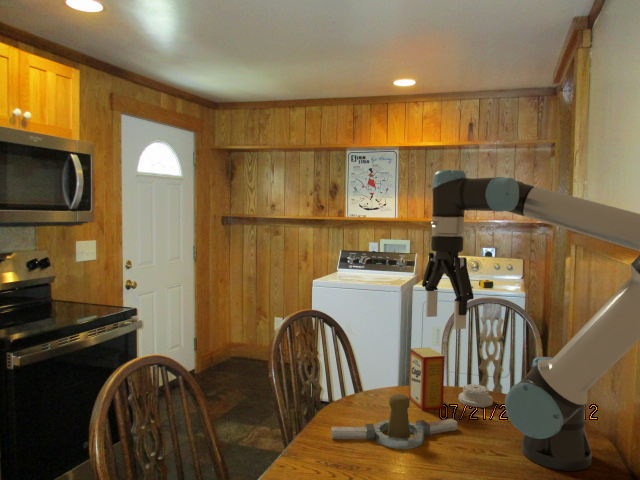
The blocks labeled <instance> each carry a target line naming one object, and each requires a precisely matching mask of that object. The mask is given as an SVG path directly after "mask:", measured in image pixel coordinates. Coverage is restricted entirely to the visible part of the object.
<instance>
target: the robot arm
mask: <svg viewBox="0 0 640 480" xmlns="http://www.w3.org/2000/svg"><path fill="white" fill-rule="evenodd" d="M431 191H432V213H431V214H432V215H431V222H430V224H431V233H432V234H434V235H432V236H431V237H430V238H431V239H430V240H431V243H430V244H431V245H430V246H431V247H430V249H431V251H432V252H429V253H428V260H427V265H426V268H425V271H424V274H423V278H422V281H421V282H422V283H421V286H422V288H425V291H426V301H425V302H426V303H425V304H426V305H425V307H426V309H425V316H426V317H427V318H431V317H432V318H433V317H438V297H439V296H438V295H439V294H438V291H439V289H438V286H439V284H440V282H441V280H442V278H443V276H444V275H446V277H448V278H449V281H450V285H451V287H452V289H453V292H454V295H455V299H454V305H453V306H454V309H453V310H454V311H453V312H454V313H453V329H455V330H465V329H466V328H467V314H468V302H469V300H471V301H472V300H474V299H475V298H474V297H475V296H474V293H473V286H472V283H471V279H470V275H469V270H468V262H467V261H468V260H467V257H463V256H462V257H459V253H461V252H464V237H463V234H464V233H465V211H479V212H480V211H482V212H497V213H498V212H508V213H511V214H515V215H518V216H522V217H527V218H528V219H532V220H536V221H539V222H542V223H545V224H549V225H552V226H555V227H559V228H562V229H565V230H568V231H571V232H574V233H579V234H582V235H585V236H588V237H591V238H594V239H598V240H601V241H604V242H607V243H611V244H614V245H618V246H619V247H623V248H628V249H630V250H634V251H638V252H639V253H640V213H638V212H634V211H631V210H627V209H622V208H619V207H615V206H612V205H607V204H605V203H604V204H603V203H600V202H596V201H592V200H589V199H584V198H582V197H577V196H573V195H569V194H565V193H561V192H558V191H554V190H550V189H547V188H542V187H539V186H534V185H530V184H527V183H524V182H523V181H519V180H516V179H515V178H513V177H504V176H496V177H479V178H470V177H469V178H468V177H467V176H466V172H465V171H464V170H461V169H460V170H459V169H443V170H437V171H435V173H434V175H433V182H432V189H431ZM629 265H630V267H629V268H630V273H631V274H630V277H629V278H628V279H627V280H626V281H625V282H624V283H623V284H622V285H621V286H620V287H619V289H617V291H615V292H614V294H613V295H612V296H611V297H610V298H609V299H608V300H607V301H606V302H605V303H604V304H603V305H602V306H601V307H600V308H599V310H597V311H596V313H595V314H594V315H593V316H592V317H591V318H590V319H589V320H588V321H587V322H586V323H585V324H584V325H583V326H582V328H580V329H579V331H578V332H577V333H576V334H575V335H574V336H573V337H572V338H571V339H570V340H569V341H568V342H567V343H566V344H565V345H564V346H563V347H562V348H561V349H560V350H559V352H558V353H557V354H556V355H555V356H553V357H548V356H537V357H534V358H533V360H532V365H531V369H530V370H529V372H528V373H527V374H526V375H525V376H524V377H523V378H522V379H521V380H520V381H519V382H517V383H515V384H514V385H512V386H511V387H510V388H509V391H508V392H507V394H506V395H505V399H504V407H505V413H506V415H507V417H508V420H509V421H510V423H511V424H512V425H513V427H515V429H517V430H518V431H519V432H520V433H522V434H523V436H522V439H521V452H522V455H524V456H525V457H526V458H527V459H528V460H531V462H534V463H535V464H538V465H540V466H542V467H545V468H548V469H553V470H558V471H564V472H578V471H584V470H587V469H588V468H590V467H589V466H591V465H592V457H593V455H592V454H593V453H592V450H591V446H590V443H589V440H588V437H587V433H586V430H585V429H586V428H585V421H586V420H585V419H586V404H587V403H588V401H589V399H588V397H589V396H588V390H589V389H590V388H591V387H592V386H593V385H594V384H595V383H596V382H598V380H599V379H600V378H602V377H603V376H604V375H605V373H607V372H608V371H609V370H610V369H611V368H612V367H613V366H614V365H615V364H616V363H617V362H618V361H620V359H622V357H623V356H624V355H625V354H626V353H628V352H629V351H630V350H631V348H633V347H634V346H635V345H636V344H637V343H638V342H639V341H640V254H639V255H638V256H637V257H636V258H635V259H634V260H633V261H632V262H631V263H630V264H629ZM583 469H584V470H583Z"/></svg>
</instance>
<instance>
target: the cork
mask: <svg viewBox="0 0 640 480" xmlns="http://www.w3.org/2000/svg"><path fill="white" fill-rule="evenodd" d="M388 404H389V407H390V413H389V419H388V420H389V426H388V430H387V432H386V435H387V436H389V437H394V438H410V437H411V432H410V429H409V422H410V420H409V413H408V409H409V408H410V404H411V400H410V399H409V396H408V395H405V394H403V393H394V394H392V395H391V396H389V401H388Z"/></svg>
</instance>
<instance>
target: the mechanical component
mask: <svg viewBox="0 0 640 480" xmlns="http://www.w3.org/2000/svg"><path fill="white" fill-rule="evenodd" d="M489 391H490V389H489V388H488V387H486V386H485V385H481V384H476V383H471V384H466V385H463V386H462V392H460V393H459V394H458V401H459V402H460V403H461V404H463V405H467V406H469V407H473V408H487V407H491V406H492V405H493V402H494V398H493V397H492V396H491V395H490V392H489Z"/></svg>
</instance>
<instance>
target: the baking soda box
mask: <svg viewBox="0 0 640 480" xmlns="http://www.w3.org/2000/svg"><path fill="white" fill-rule="evenodd" d="M408 378H409V379H408V381H409V382H408V384H409V385H408V398H409V400H410V402H411V403H413V404H414V405H415V406H417V408H419V409H420V410H421V411H423V412H424V411H435V410H443V409H444V389H445V388H444V384H445V355H443V354H441V353H440V352H438V351H436V350H435V349H433V348H431V347H417V348H416V347H415V348H409V376H408Z"/></svg>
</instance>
